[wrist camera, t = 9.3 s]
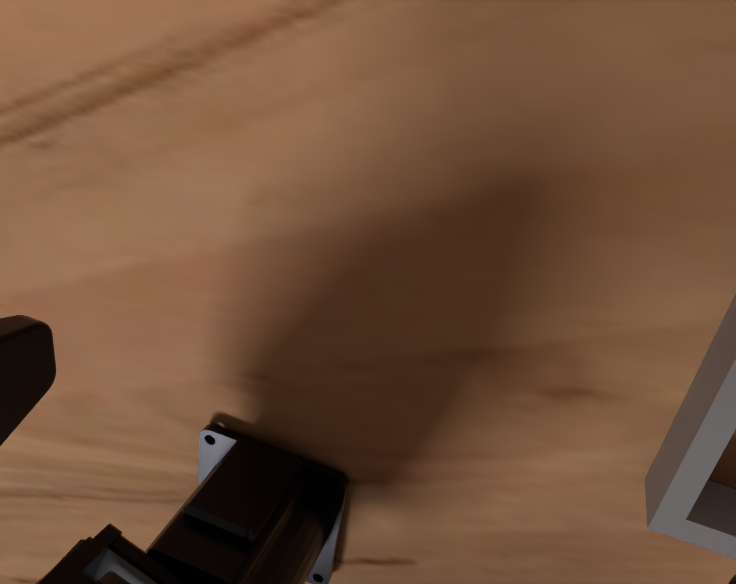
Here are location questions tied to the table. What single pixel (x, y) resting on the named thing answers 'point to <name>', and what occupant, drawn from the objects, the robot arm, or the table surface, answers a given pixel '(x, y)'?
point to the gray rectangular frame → (699, 455)
